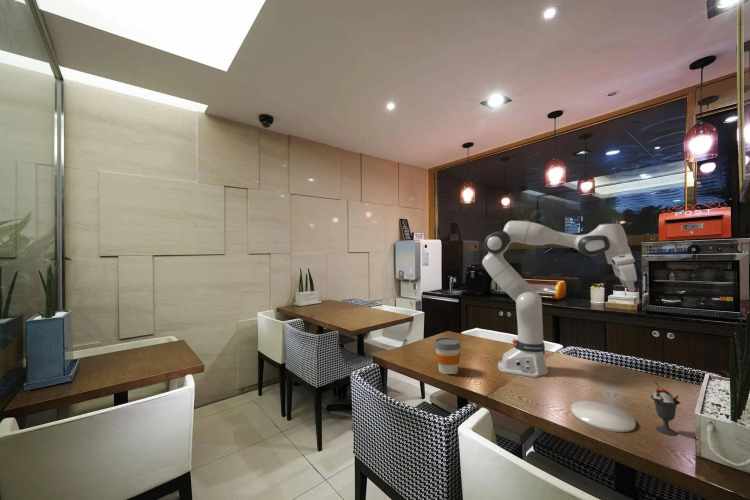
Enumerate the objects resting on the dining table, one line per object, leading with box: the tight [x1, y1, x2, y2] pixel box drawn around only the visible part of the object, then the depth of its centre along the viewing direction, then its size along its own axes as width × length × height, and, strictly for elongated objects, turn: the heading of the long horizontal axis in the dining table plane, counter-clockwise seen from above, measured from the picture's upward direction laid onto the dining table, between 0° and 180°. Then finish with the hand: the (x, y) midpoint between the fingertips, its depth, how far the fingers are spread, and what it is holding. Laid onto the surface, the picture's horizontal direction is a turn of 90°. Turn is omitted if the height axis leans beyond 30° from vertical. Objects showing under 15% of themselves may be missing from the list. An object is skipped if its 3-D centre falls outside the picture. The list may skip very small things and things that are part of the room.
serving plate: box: [570, 400, 637, 433], centre depth 105 cm, size 18×18×1 cm
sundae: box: [650, 382, 681, 437], centre depth 96 cm, size 7×7×15 cm
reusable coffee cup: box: [434, 337, 461, 375], centre depth 149 cm, size 13×12×15 cm
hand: (628, 288), depth 130 cm, fingers open, 8 cm apart
